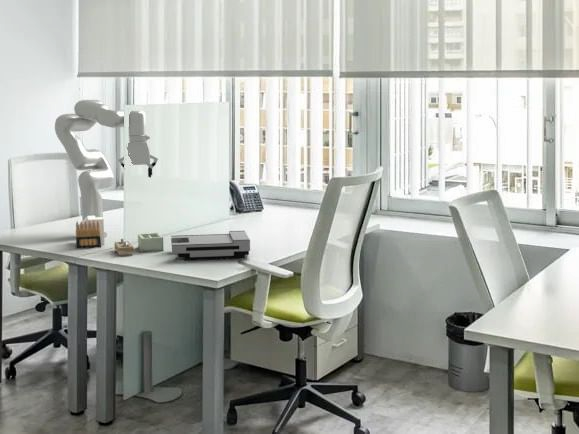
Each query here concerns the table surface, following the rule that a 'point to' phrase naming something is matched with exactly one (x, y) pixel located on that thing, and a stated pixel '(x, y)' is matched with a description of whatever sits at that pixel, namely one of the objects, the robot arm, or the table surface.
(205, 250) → the grey printer
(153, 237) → the green compartment box
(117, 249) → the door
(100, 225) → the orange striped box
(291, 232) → the table surface
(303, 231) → the table surface
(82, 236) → the ammunition clip
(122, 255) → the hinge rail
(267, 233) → the table surface
